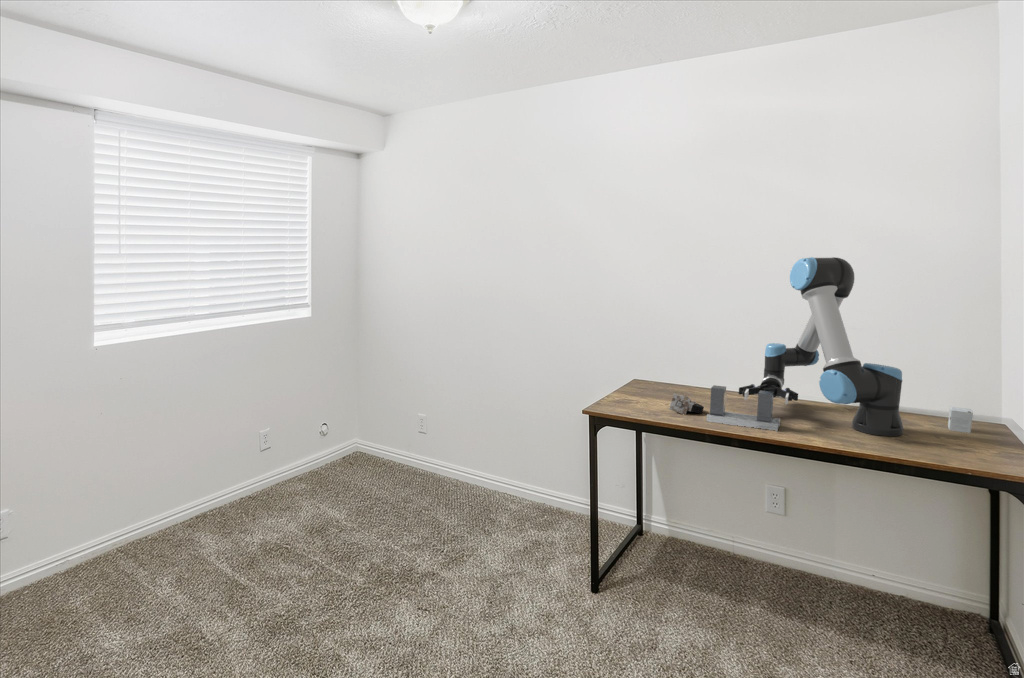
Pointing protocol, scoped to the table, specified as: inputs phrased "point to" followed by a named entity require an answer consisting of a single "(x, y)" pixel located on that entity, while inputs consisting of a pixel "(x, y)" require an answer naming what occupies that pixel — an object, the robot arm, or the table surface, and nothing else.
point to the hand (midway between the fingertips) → (765, 398)
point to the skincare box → (960, 419)
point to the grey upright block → (765, 406)
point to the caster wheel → (684, 405)
